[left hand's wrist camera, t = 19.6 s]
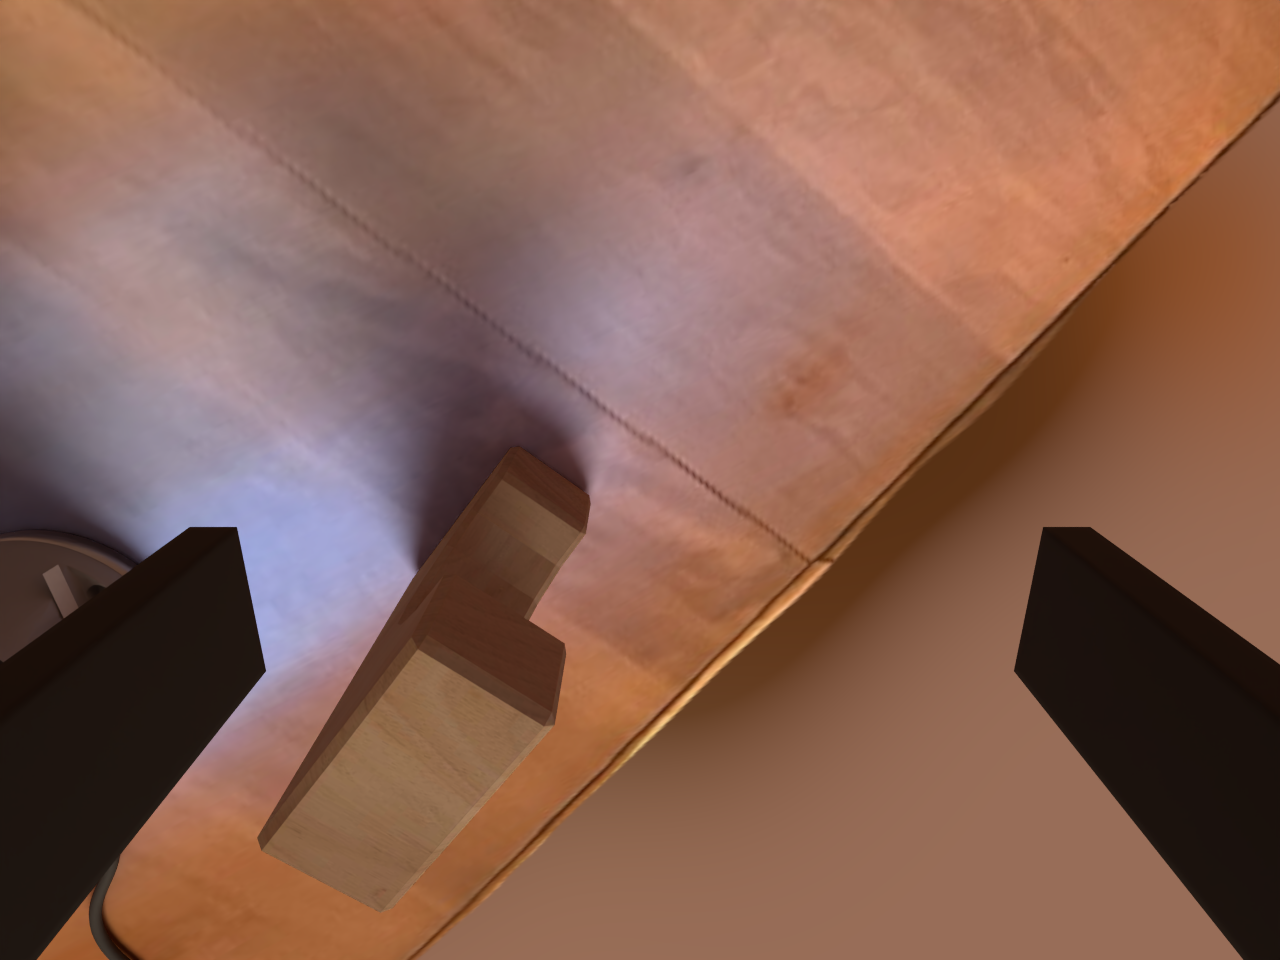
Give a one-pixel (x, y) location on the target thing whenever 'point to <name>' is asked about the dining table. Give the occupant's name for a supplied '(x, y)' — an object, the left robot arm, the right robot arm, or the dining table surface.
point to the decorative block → (438, 696)
